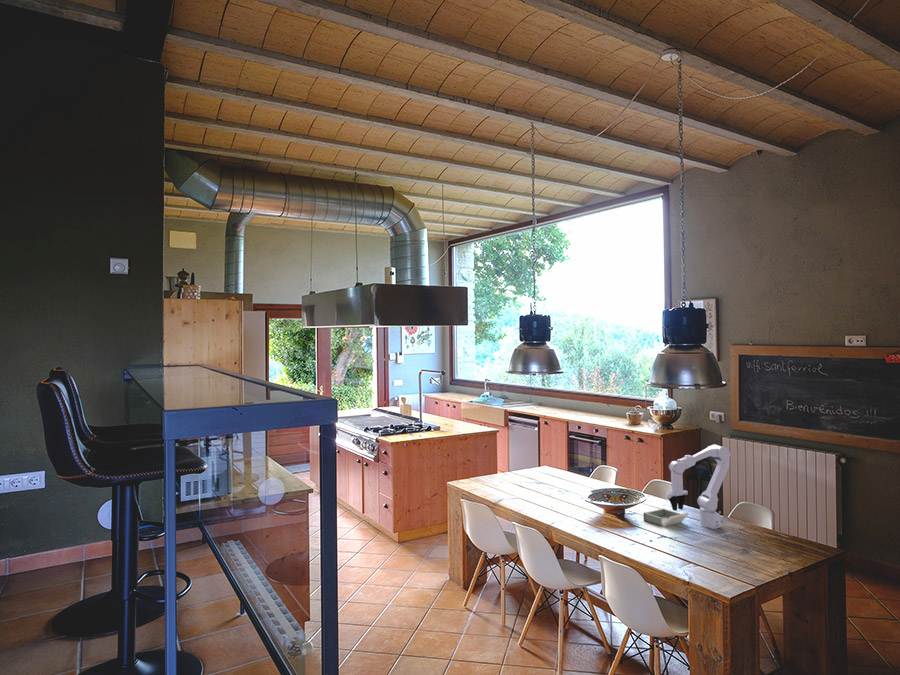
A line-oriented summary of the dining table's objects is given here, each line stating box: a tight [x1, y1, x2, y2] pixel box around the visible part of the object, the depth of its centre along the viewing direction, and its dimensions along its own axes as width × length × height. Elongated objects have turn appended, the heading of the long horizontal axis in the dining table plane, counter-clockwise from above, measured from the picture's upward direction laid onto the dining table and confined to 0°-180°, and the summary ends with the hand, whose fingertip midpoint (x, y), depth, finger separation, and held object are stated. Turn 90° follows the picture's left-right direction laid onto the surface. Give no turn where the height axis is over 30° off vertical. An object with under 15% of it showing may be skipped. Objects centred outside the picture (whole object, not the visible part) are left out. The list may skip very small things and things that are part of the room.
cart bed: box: [643, 508, 681, 527], centre depth 298 cm, size 11×16×5 cm
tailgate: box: [661, 512, 690, 528], centre depth 291 cm, size 8×14×1 cm
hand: (677, 509), depth 290 cm, fingers open, 4 cm apart
